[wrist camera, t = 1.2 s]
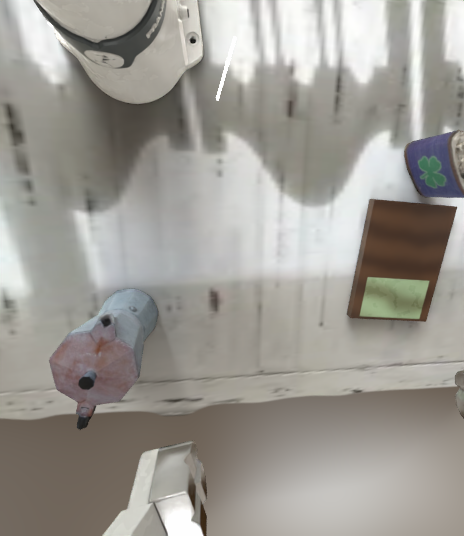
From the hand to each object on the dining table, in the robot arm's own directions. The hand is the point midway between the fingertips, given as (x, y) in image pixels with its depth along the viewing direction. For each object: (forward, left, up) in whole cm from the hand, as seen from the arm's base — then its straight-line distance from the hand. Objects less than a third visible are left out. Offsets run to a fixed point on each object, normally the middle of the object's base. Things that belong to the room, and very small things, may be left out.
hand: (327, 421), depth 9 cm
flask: (-12, +29, -39) cm, 50 cm away
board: (+3, +29, -39) cm, 49 cm away
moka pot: (+15, -15, -39) cm, 45 cm away
